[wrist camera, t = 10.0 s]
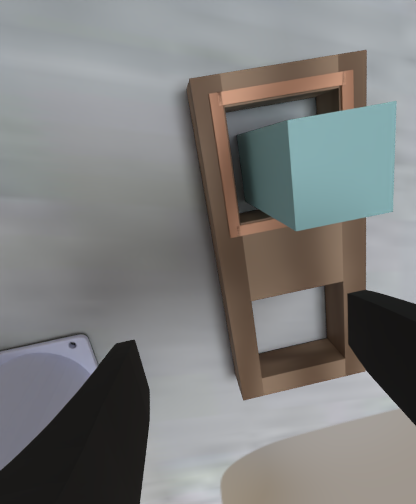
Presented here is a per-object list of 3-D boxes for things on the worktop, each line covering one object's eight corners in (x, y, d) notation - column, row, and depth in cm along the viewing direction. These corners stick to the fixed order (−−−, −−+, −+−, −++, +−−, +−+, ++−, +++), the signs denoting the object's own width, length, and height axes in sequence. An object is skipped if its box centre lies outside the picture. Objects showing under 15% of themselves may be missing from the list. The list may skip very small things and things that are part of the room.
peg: (245, 201, 19) (295, 231, 12) (236, 135, 18) (287, 120, 10) (305, 189, 19) (392, 211, 12) (301, 123, 18) (396, 100, 11)
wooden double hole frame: (235, 375, 23) (243, 401, 21) (186, 89, 17) (189, 77, 14) (345, 349, 24) (366, 372, 21) (339, 64, 17) (368, 48, 15)
